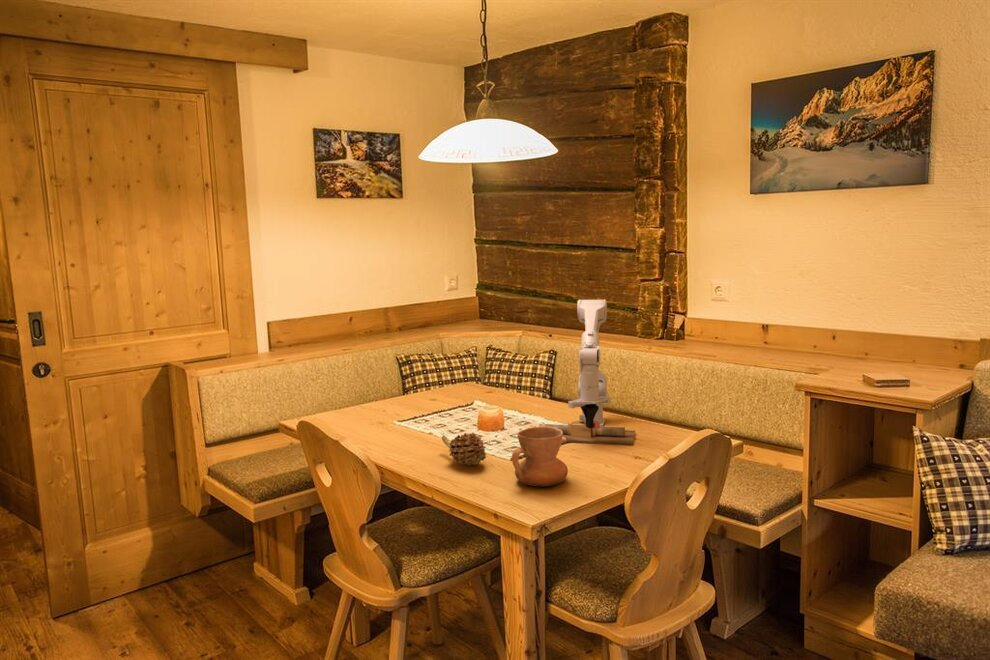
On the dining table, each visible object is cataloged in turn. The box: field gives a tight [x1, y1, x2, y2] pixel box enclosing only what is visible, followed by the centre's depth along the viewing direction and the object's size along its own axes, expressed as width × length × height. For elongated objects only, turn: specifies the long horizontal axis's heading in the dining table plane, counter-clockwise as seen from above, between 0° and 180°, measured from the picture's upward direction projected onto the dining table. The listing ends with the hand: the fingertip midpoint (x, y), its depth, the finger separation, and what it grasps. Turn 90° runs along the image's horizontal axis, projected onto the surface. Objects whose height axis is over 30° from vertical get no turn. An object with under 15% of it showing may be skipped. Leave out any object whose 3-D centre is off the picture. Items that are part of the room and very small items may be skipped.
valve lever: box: [578, 414, 600, 429], centre depth 239 cm, size 11×2×2 cm, turn 21°
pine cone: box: [441, 432, 487, 466], centre depth 221 cm, size 22×10×10 cm, turn 39°
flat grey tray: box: [538, 419, 636, 446], centre depth 244 cm, size 14×34×5 cm, turn 77°
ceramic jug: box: [511, 426, 569, 488], centre depth 202 cm, size 18×14×14 cm
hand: (589, 427), depth 236 cm, fingers closed, pressing on valve lever
